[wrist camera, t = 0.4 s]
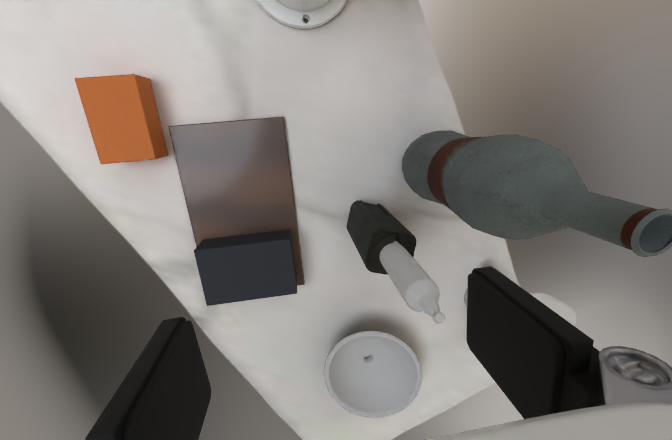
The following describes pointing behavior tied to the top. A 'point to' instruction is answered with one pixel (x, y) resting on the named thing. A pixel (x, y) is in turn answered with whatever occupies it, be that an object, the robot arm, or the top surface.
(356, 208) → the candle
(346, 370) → the dish
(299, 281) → the board
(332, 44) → the top surface
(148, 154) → the loose pad
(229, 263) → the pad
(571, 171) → the bottle
